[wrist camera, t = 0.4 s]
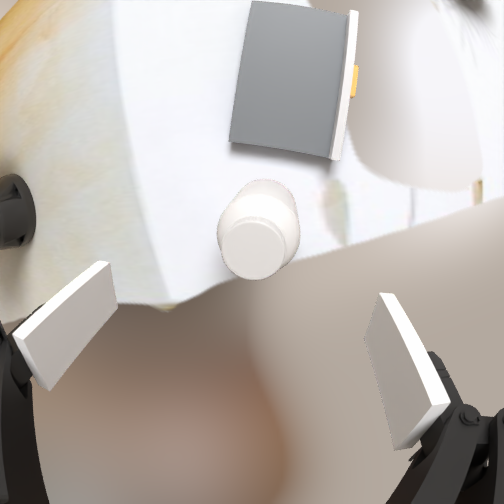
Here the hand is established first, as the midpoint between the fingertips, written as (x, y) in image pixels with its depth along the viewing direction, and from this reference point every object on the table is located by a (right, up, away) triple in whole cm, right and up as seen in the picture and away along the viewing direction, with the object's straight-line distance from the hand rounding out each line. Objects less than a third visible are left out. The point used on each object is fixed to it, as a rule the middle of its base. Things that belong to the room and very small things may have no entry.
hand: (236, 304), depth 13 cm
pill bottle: (+2, +8, +24) cm, 25 cm away
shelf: (+6, +24, +17) cm, 30 cm away
